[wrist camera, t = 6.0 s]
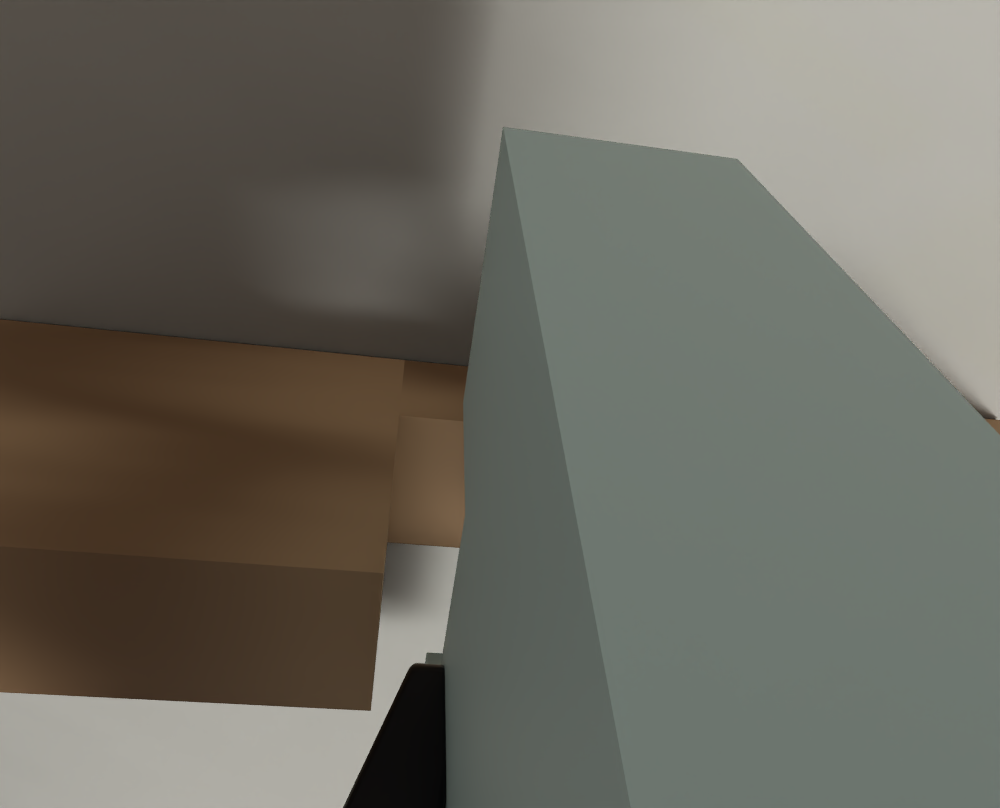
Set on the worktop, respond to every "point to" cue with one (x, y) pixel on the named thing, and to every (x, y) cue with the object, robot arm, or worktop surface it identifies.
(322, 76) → the worktop surface
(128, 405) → the slot rail
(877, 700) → the cross plate
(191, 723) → the worktop surface
